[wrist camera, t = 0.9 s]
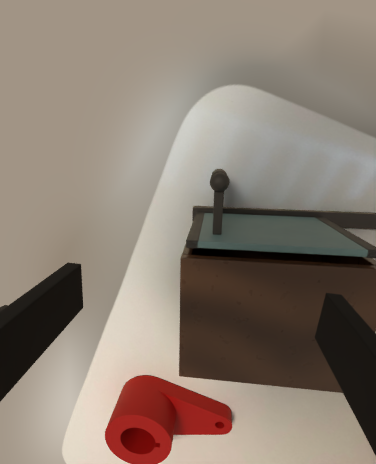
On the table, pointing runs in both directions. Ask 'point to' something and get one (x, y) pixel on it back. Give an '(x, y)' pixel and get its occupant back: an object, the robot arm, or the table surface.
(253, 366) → the cabinet
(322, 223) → the glass door
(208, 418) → the lever
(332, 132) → the table surface
